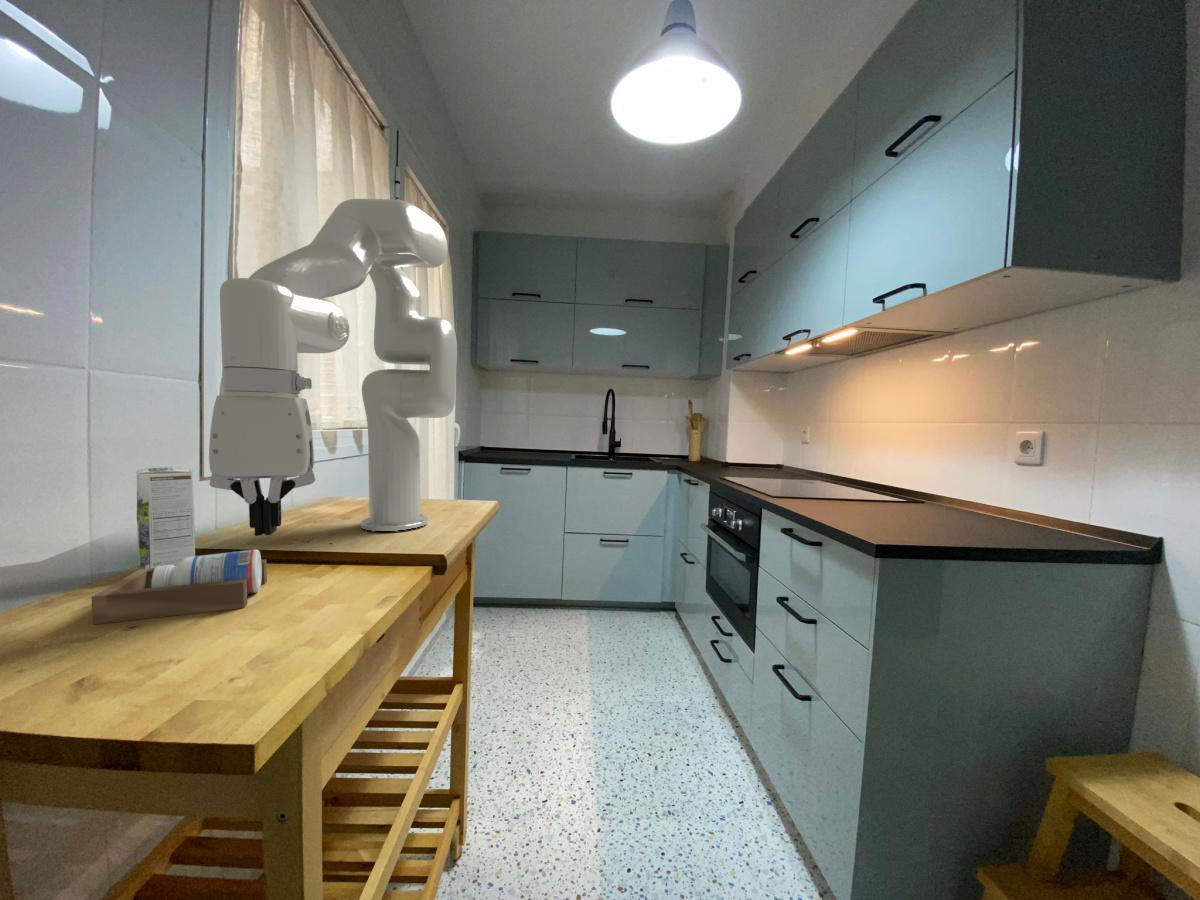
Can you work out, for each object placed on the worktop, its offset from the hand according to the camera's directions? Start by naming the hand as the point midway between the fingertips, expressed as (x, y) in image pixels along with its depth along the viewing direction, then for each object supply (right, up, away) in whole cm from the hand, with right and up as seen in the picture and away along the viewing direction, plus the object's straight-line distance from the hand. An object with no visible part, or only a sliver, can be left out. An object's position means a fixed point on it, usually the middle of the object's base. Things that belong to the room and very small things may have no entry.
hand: (266, 532), depth 59 cm
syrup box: (-20, -7, +8) cm, 22 cm away
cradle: (-7, -8, -2) cm, 11 cm away
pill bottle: (-1, -5, +1) cm, 5 cm away
